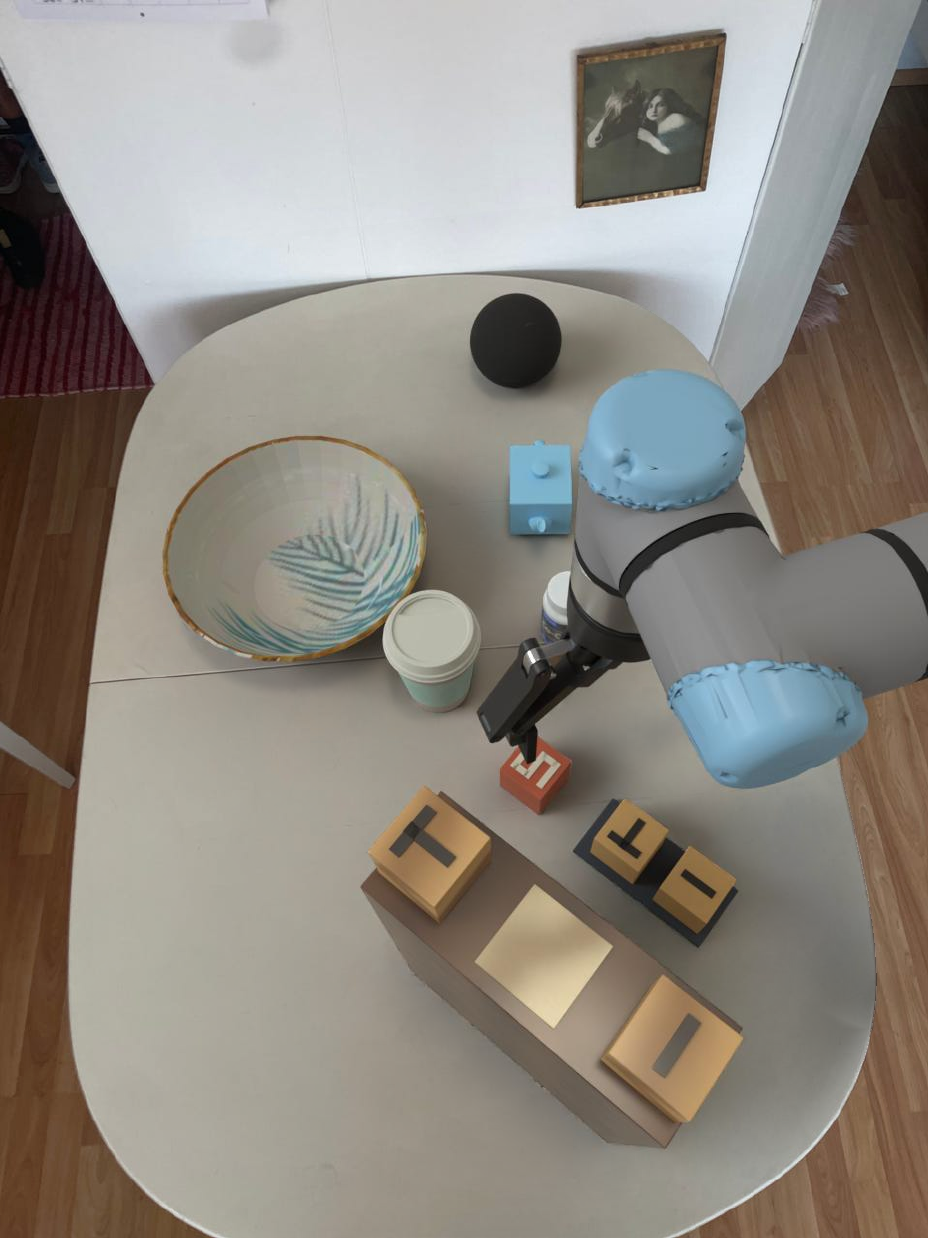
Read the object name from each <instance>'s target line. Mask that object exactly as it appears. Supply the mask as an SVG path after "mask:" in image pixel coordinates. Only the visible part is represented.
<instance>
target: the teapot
mask: <svg viewBox="0 0 928 1238" xmlns="http://www.w3.org/2000/svg"><path fill="white" fill-rule="evenodd" d="M533 442H534V444H533V445H532V444H530V445H527V444H526V445H509V535H570V533H571V532H570V531H571V523H572V521H571V520H572V513H573V512H572V511H573V484H572V483H573V482H572V456H571V455H572V454H571V445H570V444H546V440H543V439H536V440H534V441H533Z"/></svg>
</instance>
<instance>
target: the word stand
mask: <svg viewBox="0 0 928 1238" xmlns="http://www.w3.org/2000/svg"><path fill="white" fill-rule="evenodd" d="M367 852H368V854H369V856H370V858H371V861H372V862H373V864H374V866H375V868H374V869H373V871H372V872H371V873H370V874H369V875H368V876H367V877H366V879H365V880H364V881H363V882H362V883H361V885H360V886H359V888H360V890H361V891H362V893H363V895H364V896H365V899H366V900H367V901H368V903H369V905H370V906H371V908H372V909H373V911H374V912H375V914H376V916H377V917H378V919H379V921H380V923H381V924H382V925H383V927H384V929H385V930H386V932H387V934H388V935H389V937H390V938H391V940H392V942H393V943H394V944H395V946H396V948H397V950H398V951H399V953H400V955H401V956H402V958H403V960H404V961H405V963H406V964H407V966H408V967H409V969H410V971H411V972H412V974H414V975H415V976H416V977H418V979H419V980H420V981H422V983H424V984H425V985H426V986H428V987H429V988H430V990H432V991H433V992H434V993H435V994H437V995H438V996H439V997H440V998H441V999H442V1000H443V1001H445V1003H447V1004H448V1005H449V1006H450V1007H452V1008H453V1009H454V1010H455V1011H456V1012H457V1013H458V1014H460V1015H461V1016H462V1017H463V1018H464V1020H467V1021H468V1022H469V1023H470V1024H471V1025H472V1026H473V1027H474V1028H476V1030H478V1031H479V1033H481V1034H482V1035H483V1036H485V1037H486V1038H487V1039H488V1040H489V1041H490V1042H492V1044H494V1045H495V1046H496V1047H497V1048H498V1049H499V1050H501V1052H503V1054H505V1055H506V1056H507V1057H508V1058H509V1059H511V1061H513V1062H514V1063H515V1064H517V1065H518V1067H520V1068H521V1069H522V1070H523V1071H525V1072H526V1073H527V1075H529V1076H530V1077H532V1079H534V1080H535V1081H536V1082H537V1083H538V1084H539V1085H540V1086H542V1087H543V1088H544V1089H546V1091H547V1092H548V1093H550V1094H551V1096H553V1097H554V1098H555V1099H556V1100H558V1101H559V1102H560V1103H561V1104H563V1105H564V1107H566V1108H567V1109H568V1110H569V1111H570V1112H571V1113H573V1114H574V1115H575V1116H576V1117H577V1118H578V1119H580V1120H581V1122H583V1124H585V1125H586V1126H587V1127H589V1128H590V1129H591V1130H592V1131H593V1132H595V1134H597V1135H598V1136H599V1137H600V1138H601V1139H602V1140H603V1141H604V1142H605V1143H607V1144H614V1145H625V1146H634V1147H643V1148H652V1149H663V1150H666V1149H667V1148H668V1146H669V1144H670V1143H671V1142H672V1141H673V1138H674V1137H675V1135H676V1133H677V1132H678V1131H679V1129H680V1128H681V1126H682V1124H683V1123H691V1122H692V1120H693V1119H694V1118H695V1116H696V1114H697V1113H698V1111H699V1110H700V1108H701V1106H702V1105H703V1103H705V1100H706V1099H707V1097H708V1096H709V1094H710V1093H711V1091H712V1089H713V1088H714V1086H715V1085H716V1083H717V1082H718V1080H719V1078H720V1077H721V1075H722V1074H723V1072H724V1071H725V1069H726V1067H727V1066H728V1065H729V1063H730V1061H731V1060H732V1058H733V1056H734V1055H735V1053H736V1052H737V1050H738V1049H739V1047H740V1046H741V1044H742V1043H743V1041H744V1039H745V1038H744V1036H743V1035H741V1033H742V1031H743V1029H744V1028H743V1027H742V1026H741V1025H740V1024H739V1023H738V1022H736V1021H735V1020H734V1019H732V1018H731V1017H730V1016H728V1015H727V1014H726V1013H725V1012H723V1011H722V1010H721V1009H720V1008H719V1007H717V1006H715V1004H713V1003H712V1002H710V1000H708V999H707V998H706V997H704V996H703V995H702V994H700V993H699V991H697V990H696V989H694V988H692V986H690V985H689V984H688V983H686V982H685V981H684V980H683V979H681V978H680V977H679V976H678V975H677V974H675V973H674V972H672V971H671V970H670V969H669V968H668V967H666V966H665V965H664V964H662V963H661V962H660V961H658V959H656V958H655V957H653V956H652V955H651V954H650V953H649V952H647V951H646V950H645V949H644V948H642V947H641V946H640V945H638V944H637V943H636V942H635V941H633V940H631V938H629V937H628V936H627V935H626V934H624V933H623V932H622V931H620V930H619V929H618V928H617V927H616V926H614V924H613V925H612V923H610V922H609V921H607V919H605V918H604V917H603V916H601V914H599V913H598V912H597V911H595V910H594V909H592V908H591V906H589V905H588V904H587V903H585V902H584V901H582V900H581V899H580V898H578V897H577V896H576V895H575V894H573V893H572V892H571V891H569V890H568V889H567V888H566V887H565V886H563V885H562V884H561V883H559V882H558V881H557V880H555V879H554V878H553V877H552V876H551V875H549V874H548V873H547V872H545V871H544V869H542V868H541V867H539V866H538V865H536V863H534V862H533V861H531V860H530V859H529V858H528V857H526V856H525V855H523V853H521V852H520V851H519V850H517V848H515V847H513V846H512V845H511V844H510V843H508V842H507V841H506V840H505V839H503V838H502V837H501V836H499V834H497V833H496V832H494V831H493V830H492V829H491V828H490V827H488V826H487V825H486V824H485V823H483V822H482V821H480V820H479V819H478V818H477V817H476V816H475V815H473V814H471V813H470V812H469V811H468V810H466V809H465V808H464V807H463V806H461V804H459V803H458V802H457V801H455V800H454V799H453V798H451V797H450V796H449V795H448V794H447V793H446V792H443V791H441V790H440V791H439V792H438V794H436V793H435V792H434V791H432V790H431V789H430V788H428V786H427V785H423V786H422V787H421V788H420V790H419V791H418V792H417V793H416V794H415V795H414V797H413V798H412V799H411V800H410V802H408V804H407V805H405V807H404V808H403V809H402V810H401V812H399V814H398V815H397V816H396V817H395V819H394V820H393V821H392V822H391V824H389V826H388V827H387V828H385V830H384V832H383V833H381V835H380V836H379V837H378V838H377V840H376V841H375V842H374V843H373V844H372V846H371V847H370V848H369V849H368V851H367Z"/></svg>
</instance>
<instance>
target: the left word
mask: <svg viewBox="0 0 928 1238" xmlns="http://www.w3.org/2000/svg"><path fill="white" fill-rule="evenodd" d="M669 833H670V829H668V827H665V826H664V825H663V824H662V823H660V822H659V821H658V820H656V819H655V818H653V817H652V816H651V815H649V814H648V813H647V812H645V811H644V810H643V809H642V808H639V806H637V805H636V804H634V803H633V802H631V801H630V800H629V799H627V798H625V797H624V798H623V799H622V800H621V802H620V801H618V800H616V798H612V799H611V800H610V801H609V803H608V804H607V805H606V807H605V808H604V809H603V811H602V812H601V813H600V815H599V816H598V817H597V818H596V819H595V821H594V822H593V823H592V824H591V826H590V827H589V828H588V830H587V831H586V832H585V834H584V835H583V836H582V838H581V839H580V840H579V842H578V843H577V844H576V846H575V847H574V848H573V850H572V852H573V853H574V854H575V855H576V856H578V857H579V858H581V859H582V860H583V861H584V862H586V863H587V864H588V865H589V866H591V867H592V868H593V869H595V870H596V871H597V872H599V873H600V874H602V875H603V876H604V877H605V878H607V879H608V880H609V881H610V882H612V883H613V884H614V885H615V886H617V887H618V888H619V889H621V890H622V891H623V892H625V893H626V894H627V895H629V897H631V898H632V899H634V900H635V901H636V902H638V903H639V904H640V905H641V906H642V907H644V908H645V909H647V910H648V911H649V912H651V913H652V914H653V915H654V916H656V917H657V918H659V919H660V920H661V921H662V922H663V923H665V924H666V925H667V926H669V927H670V928H672V929H673V930H674V931H675V932H677V933H678V934H679V935H681V936H682V937H683V938H684V939H686V940H687V941H688V942H690V944H692V945H694V946H695V947H696V948H698V949H700V948H701V947H702V946H703V944H704V942H705V941H706V939H707V938H708V937H709V935H710V933H711V932H712V930H713V929H714V928H715V926H716V925H717V923H718V922H719V920H720V919H721V918H722V916H723V914H724V913H725V911H726V910H727V908H728V907H729V906H730V904H731V903H732V901H733V900H734V898H735V897H736V895H737V894H738V892H739V889H737V888H736V887H735V886H734V885H735V884H736V882H737V878H736V877H734V876H733V875H732V874H730V873H729V872H727V871H726V870H724V869H723V868H722V867H720V866H719V865H718V864H717V863H715V862H714V861H712V860H711V859H709V858H708V857H707V856H705V855H704V854H703V853H702V852H700V851H698V850H697V849H696V848H695V847H694V846H692V845H689V846H688V847H687V849H686V850H685V849H683V848H682V847H680V846H679V845H678V844H677V843H675V842H674V841H672V840H671V839H670V838H668V837H667V836H668V834H669Z"/></svg>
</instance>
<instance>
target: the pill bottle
mask: <svg viewBox="0 0 928 1238" xmlns="http://www.w3.org/2000/svg"><path fill="white" fill-rule="evenodd" d="M570 573H571V570H566V571H561V572H558V573H556V574H555V575H554V576H553V577H552V578H551V579H550V581H549V582H548V584H547V588H546V590H545V591H544V593H543V597H542V601H541V616H540V617H541V618H540V635H541V638H542V639H543V641H544V642H545V644H546V645H548V644H550V643H553V642H556V641H559V639H560V635H561V633H562V632H563V631H564V630H565V628H566V627H567V625H568V622H567V596H568V587H569V578H570Z"/></svg>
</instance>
